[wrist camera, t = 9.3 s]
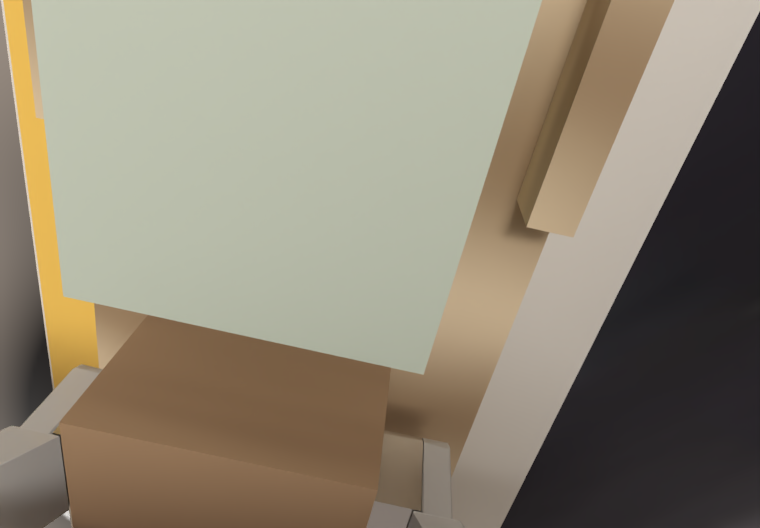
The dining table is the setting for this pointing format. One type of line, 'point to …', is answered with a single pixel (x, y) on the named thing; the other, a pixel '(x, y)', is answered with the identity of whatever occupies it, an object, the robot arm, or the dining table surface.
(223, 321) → the block
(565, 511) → the dining table surface
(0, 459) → the robot arm
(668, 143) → the dock
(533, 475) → the dining table surface
